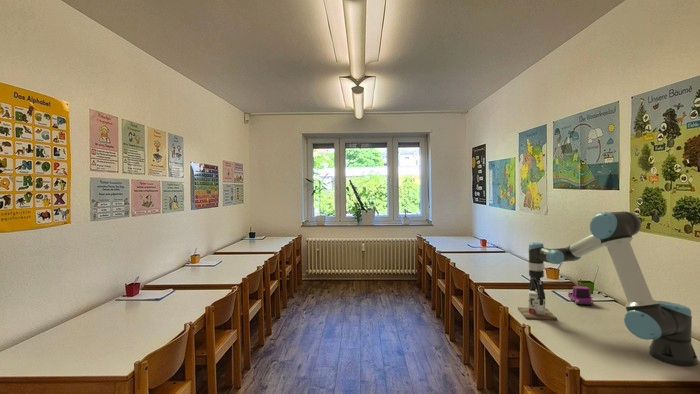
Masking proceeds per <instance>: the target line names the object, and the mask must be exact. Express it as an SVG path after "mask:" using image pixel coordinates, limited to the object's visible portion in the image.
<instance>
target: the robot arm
mask: <svg viewBox="0 0 700 394" xmlns="http://www.w3.org/2000/svg"><path fill="white" fill-rule="evenodd" d="M641 228H642V222H641V220H640V218H639V216H637V215H636V214H634V213H633V212H630V211H606V212H600V213H598V214H595V215H594V216H593V217H592V219H591V221H590V222H589V231H590V233H591V234H590V235H588V236H586V237H583V238H581V239H580V240H578V241H575V242H574V243H572V244H571V245H568V246H565V247H559V248H557V247H556V248H547V247H545V246H544V243H541V242H530V243H529V244H528V276H529V277H530V278H529V285H528V289H529V291H537V294H538V298H537V299H538V311H544V299H545V300H546V293H545V289H544V288H545V287H544V281H543V280H541V279H543V278H544V277H545V271H544V268H545V267H544V266H545V264H544V263H548V264H552V265H561V264H562V263H564V262H575V261H578V260H580V259H581V258H582V257H583V256H585V255H587V254H590V253H591V252H594V251H596V250H599V249H601V248H603V247H606V249H607V251H608V253H609V255H610V259H611V262H612V264H613V266H614V267H613V268H614V269H615V272H616V274H617V277H618V280H619V282H620V285H621V287H622V290H623V292H624V295H625V298H626V300H627V303H626V304H625V306H624V307H625V309H626V313H625V315H624V317H623V321H624V325H625V327H626V329H627V330H628V331H629V332H630V333H631V334H633V335H634V336H635V337H636V338H639V339H641V340H645V341H647V340H648V341H649V340H652V341H651V343H650V345H649V347H648V348H649V352H648V353H649V355H651V357H653V358H655V359H657V360H659V361H662V362H665V363H669V364H672V365H676V366H684V367H692V366H693V367H694V366H697V364H698V356H697V354H696V351H695V349H694V347H693V343H692V327H693V326H692V318H693V316H692V310H691V308H690V307H688V306H685V305H682V304H679V303H675V302H671V301H670V302H669V301H663V300H655V299H654V298H653V297H652V293H651V291H650V289H649V286H648V284H647V281H646V279H645V277H644V274H643V271H642V269H641V267H640V263H639V261H638V259H637V257H636V254H635V251H634V249H633V247H632V244H631V242H632V240H633V236H635V235H637V234H638V233H639V232H640V230H641ZM544 293H545V294H544ZM541 296H542V297H541Z"/></svg>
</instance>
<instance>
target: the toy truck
mask: <svg viewBox="0 0 700 394" xmlns="http://www.w3.org/2000/svg"><path fill="white" fill-rule="evenodd" d="M591 294H592V293H591V290H590V287H588V286H580V285H579V286H575V285H574V286H573V287H572V292H567V297H568V298H569V300H570V299H572V300H571V301H573V302H574V305H589V306H592V305H594V300H593V297H592V296H591Z"/></svg>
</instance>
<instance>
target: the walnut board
mask: <svg viewBox="0 0 700 394" xmlns="http://www.w3.org/2000/svg"><path fill="white" fill-rule="evenodd" d="M517 311H519V312H520V314H521V315H522V316H523V317H524V318H525V320H538V321H539V320H541V321H558V318H557V316H555V315H554V313H552V312H551V311H550V310H549V309H548V308H546V307H545V315H543V314H534V313H529V312H528V307H519V306H518V307H517Z"/></svg>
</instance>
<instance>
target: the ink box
mask: <svg viewBox="0 0 700 394" xmlns="http://www.w3.org/2000/svg"><path fill="white" fill-rule="evenodd" d="M527 294H528V295H527V297H528V300H527V302H528V303H527V308H528V312H529V313H534V314H543V315H545V308H546V298H545V299H544V311H538V299H537V298H538V294H537V290H536V291H530V290H528V291H527ZM544 294H545V295H546V292H544ZM541 297H542V296H541Z"/></svg>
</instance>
